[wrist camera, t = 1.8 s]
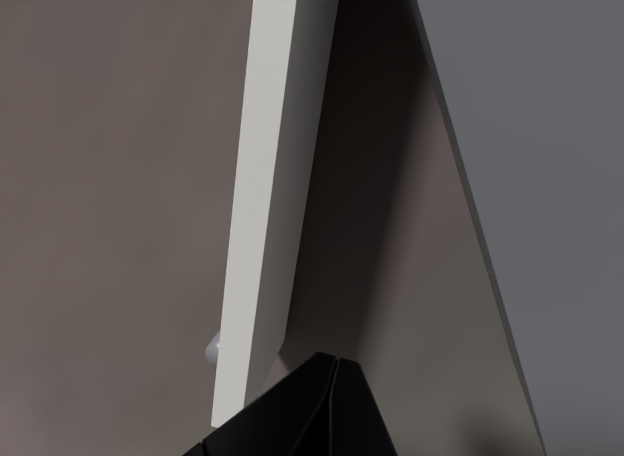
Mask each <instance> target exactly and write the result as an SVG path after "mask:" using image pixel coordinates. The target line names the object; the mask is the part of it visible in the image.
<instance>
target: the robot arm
mask: <svg viewBox="0 0 624 456" xmlns="http://www.w3.org/2000/svg"><path fill="white" fill-rule="evenodd" d="M314 455H315V456H398V455H397V452H396V450H395V448H394V445H393V443H392V440H391V438H390V435H389V433H388V431H387V428H386V426H385V423H384V421H383V419H382V416H381V414H380V411H379V409H378V406H377V404H376V402H375V399H374V397H373V394H372V392H371V390H370V387H369V385H368V382H367V380H366V377H365V375H364V373H363V370H362V368H361V365H360V364H359V363H358V362H355V361H352V360H348V359H344V358H339V359H338V361H337V357H336V356H333V355H330V354H326V353H323V352H316V353H314V354H313V355H312V356H310V357H309V358H308V359H307V360H305V361H304V362H303V363H301V364H300V365H299V366H297V367H296V368H295V369H294V370H292V371H291V372H290V373H288V374H287V375H286V376H285V377H283V378H282V379H281V380H279V381H278V382H277V383H276V384H274V385H273V386H272V387H270V388H269V389H268V390H266V391H265V392H264V393H263V394H261V395H260V396H259V397H257V398H256V399H255V400H254V401H252V402H251V403H250V404H248V405H247V406H246V407H245V408H243V409H242V410H241V411H239V412H238V413H237V414H235V415H234V416H233V417H232V418H230V419H229V420H228V421H226V422H225V423H224V424H223V425H221V426H220V427H219V428H217V429H216V430H215V431H213V432H212V433H211V434H210V435H208V436H207V437H206V438H204V439H203V440H202V443H201V442H199V443H198V444H196V445H195V446H194V447H192V448H191V449H190V450H189V451H187V452H186V453H185V454H184V455H182V456H314Z"/></svg>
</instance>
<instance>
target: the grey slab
mask: <svg viewBox="0 0 624 456" xmlns="http://www.w3.org/2000/svg"><path fill="white" fill-rule="evenodd" d="M409 3H410V7H411V10H412V13H413V17H414V20H415V24H416V27H417V31H418V34H419V38H420V41H421V44H422V48H423V51H424V55H425V58H426V62H427V65H428V69H429V72H430V76H431V79H432V82H433V86H434V89H435V93H436V96H437V100H438V103H439V107H440V110H441V113H442V117H443V120H444V124H445V127H446V131H447V134H448V138H449V141H450V145H451V148H452V151H453V155H454V158H455V162H456V165H457V169H458V172H459V176H460V179H461V182H462V186H463V189H464V193H465V196H466V200H467V203H468V207H469V210H470V214H471V217H472V220H473V224H474V227H475V231H476V234H477V238H478V241H479V245H480V248H481V251H482V255H483V258H484V262H485V265H486V269H487V272H488V276H489V279H490V283H491V286H492V289H493V293H494V296H495V300H496V303H497V307H498V310H499V314H500V317H501V320H502V324H503V327H504V331H505V334H506V338H507V341H508V345H509V348H510V352H511V355H512V358H513V362H514V365H515V368H516V371H517V374H518V377H519V380H520V383H521V386H522V389H523V392H524V395H525V398H526V401H527V403H528V406H529V409H530V412H531V415H532V418H533V421H534V424H535V427H536V430H537V433H538V436H539V439H540V442H541V445H542V448H543V451H544V454H545V456H624V0H409Z"/></svg>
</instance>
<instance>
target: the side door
mask: <svg viewBox="0 0 624 456" xmlns="http://www.w3.org/2000/svg"><path fill="white" fill-rule="evenodd" d="M338 2H339V0H253V9H252V19H251V30H250V40H249V50H248V60H247V70H246V80H245V90H244V100H243V110H242V120H241V130H240V140H239V150H238V160H237V170H236V180H235V190H234V200H233V210H232V220H231V230H230V240H229V250H228V260H227V271H226V281H225V291H224V301H223V311H222V321H221V329H220V330H219V332H218V333H217V334H216V336H215V337H214V338H213V340H212V341H211V342H210V344H209V345H208V347H207V348H206V351H205V355H206V358H207V360H208V361H209V362H210V363H211V364H212V365H213V366H215V367H217V371H216V381H215V391H214V401H213V411H212V421H211V426H213V427H217V428H219V427H220V426H221V425H223V424H224V423H225V422H226V421H228V420H229V419H230V418H232V417H233V416H234V415H235V414H237V413H238V412H239V411H241V410H242V409H243V408H245V407H246V406H247V405H248V404H250V403H251V402H252V401H254V400H255V399H256V398H257V397H258V395H259V393H260V391H261V389H262V386H263V384H264V382H265V380H266V378H267V376H268V374H269V372H270V369H271V367H272V365H273V363H274V361H275V359H276V357H277V355H278V353H279V350H280V348H281V346H282V344H283V342H284V338H285V332H286V326H287V319H288V313H289V307H290V301H291V294H292V288H293V282H294V276H295V269H296V263H297V257H298V251H299V245H300V238H301V232H302V226H303V220H304V213H305V207H306V201H307V195H308V188H309V182H310V176H311V170H312V164H313V157H314V151H315V145H316V139H317V132H318V126H319V120H320V114H321V107H322V101H323V95H324V89H325V83H326V76H327V70H328V64H329V58H330V51H331V45H332V39H333V33H334V26H335V20H336V14H337V8H338Z"/></svg>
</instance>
